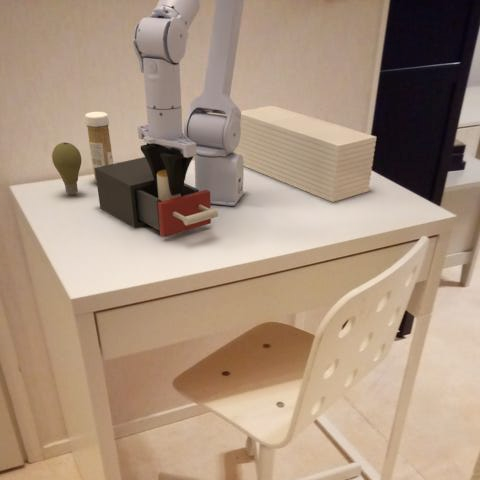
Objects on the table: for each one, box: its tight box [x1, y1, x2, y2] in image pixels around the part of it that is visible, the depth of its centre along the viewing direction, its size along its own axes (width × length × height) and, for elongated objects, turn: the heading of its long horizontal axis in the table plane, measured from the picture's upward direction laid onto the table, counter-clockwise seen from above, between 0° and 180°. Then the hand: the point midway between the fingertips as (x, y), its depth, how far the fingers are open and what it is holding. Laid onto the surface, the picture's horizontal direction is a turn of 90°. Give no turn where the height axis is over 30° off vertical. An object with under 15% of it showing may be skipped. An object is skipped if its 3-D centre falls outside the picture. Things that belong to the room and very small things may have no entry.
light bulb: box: [51, 142, 82, 197], centre depth 121 cm, size 6×6×10 cm
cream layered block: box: [234, 105, 377, 203], centre depth 131 cm, size 32×11×11 cm, turn 38°
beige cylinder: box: [157, 169, 181, 201], centre depth 107 cm, size 4×4×4 cm
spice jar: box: [84, 111, 114, 185], centre depth 126 cm, size 5×5×14 cm
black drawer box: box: [95, 156, 155, 229], centre depth 115 cm, size 13×12×8 cm
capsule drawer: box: [134, 182, 219, 238], centre depth 109 cm, size 16×10×6 cm, turn 40°
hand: (169, 190), depth 108 cm, fingers closed on beige cylinder, 4 cm apart
